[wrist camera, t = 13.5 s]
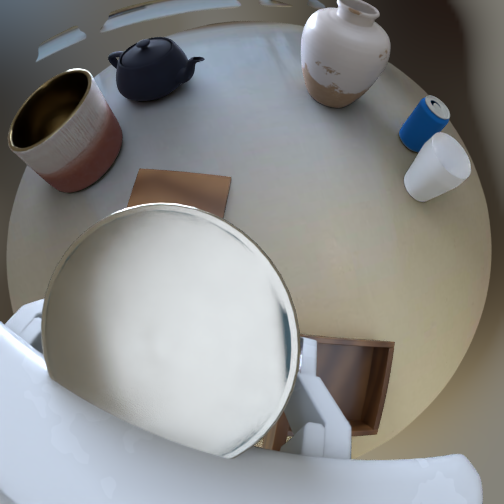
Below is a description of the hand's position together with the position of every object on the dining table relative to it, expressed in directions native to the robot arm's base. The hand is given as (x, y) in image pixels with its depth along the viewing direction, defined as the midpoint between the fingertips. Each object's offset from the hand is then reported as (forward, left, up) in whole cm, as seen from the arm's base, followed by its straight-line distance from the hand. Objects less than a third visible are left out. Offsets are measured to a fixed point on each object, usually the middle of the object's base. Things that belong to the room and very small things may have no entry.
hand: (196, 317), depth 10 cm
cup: (+28, -30, -30) cm, 51 cm away
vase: (+47, -12, -30) cm, 57 cm away
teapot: (+44, +24, -30) cm, 58 cm away
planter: (+25, +34, -30) cm, 51 cm away
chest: (-7, -14, -29) cm, 34 cm away
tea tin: (-1, 0, -6) cm, 6 cm away
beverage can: (+39, -30, -30) cm, 57 cm away
